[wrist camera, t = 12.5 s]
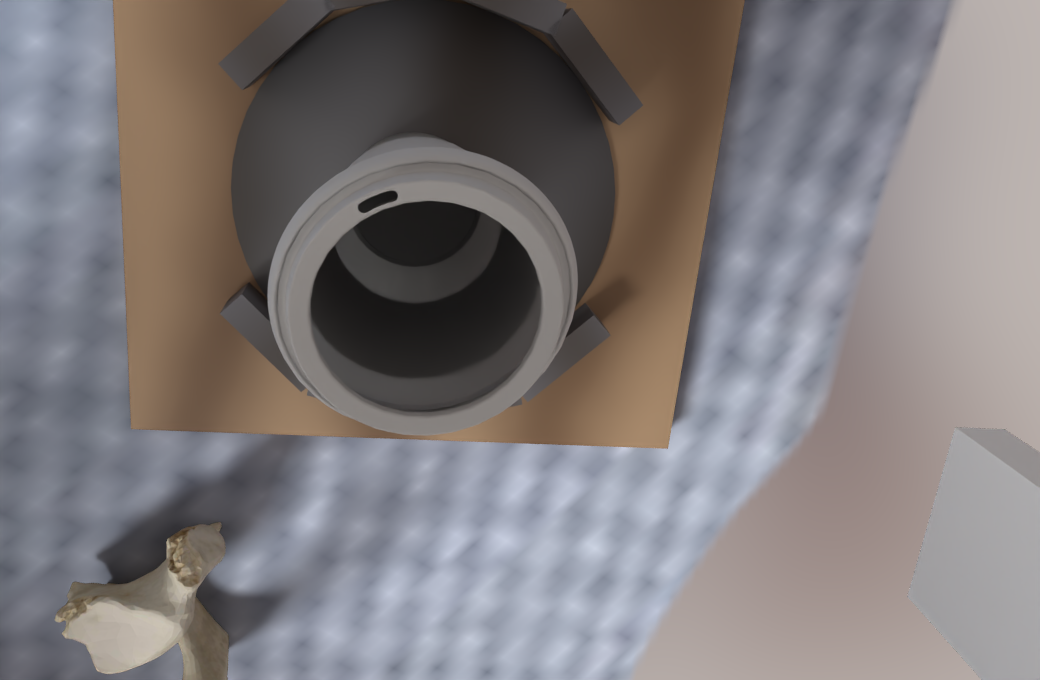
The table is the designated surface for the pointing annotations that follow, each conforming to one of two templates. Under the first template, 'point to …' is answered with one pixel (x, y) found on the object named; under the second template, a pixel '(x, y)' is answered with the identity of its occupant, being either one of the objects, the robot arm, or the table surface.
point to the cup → (422, 287)
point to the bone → (154, 612)
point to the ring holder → (421, 109)
